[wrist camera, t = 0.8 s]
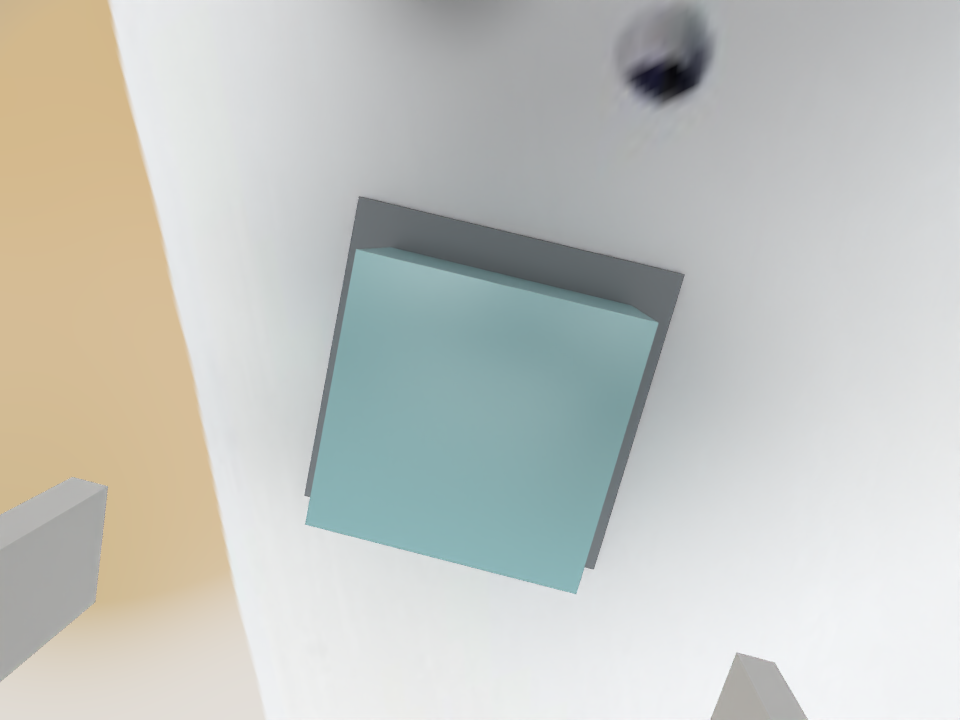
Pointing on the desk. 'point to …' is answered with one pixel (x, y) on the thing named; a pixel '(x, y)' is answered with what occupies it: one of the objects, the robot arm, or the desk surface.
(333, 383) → the cover cap
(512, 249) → the rubber mat
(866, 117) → the desk surface
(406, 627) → the desk surface
